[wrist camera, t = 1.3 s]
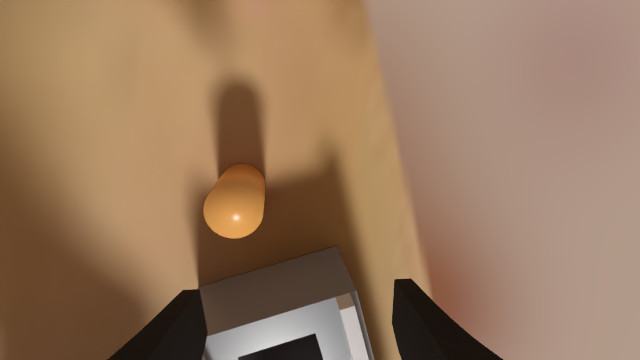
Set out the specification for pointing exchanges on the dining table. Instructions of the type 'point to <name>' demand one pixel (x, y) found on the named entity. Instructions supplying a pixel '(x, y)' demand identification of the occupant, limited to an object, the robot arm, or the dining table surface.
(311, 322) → the housing
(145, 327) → the robot arm
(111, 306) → the dining table surface
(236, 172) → the peg
